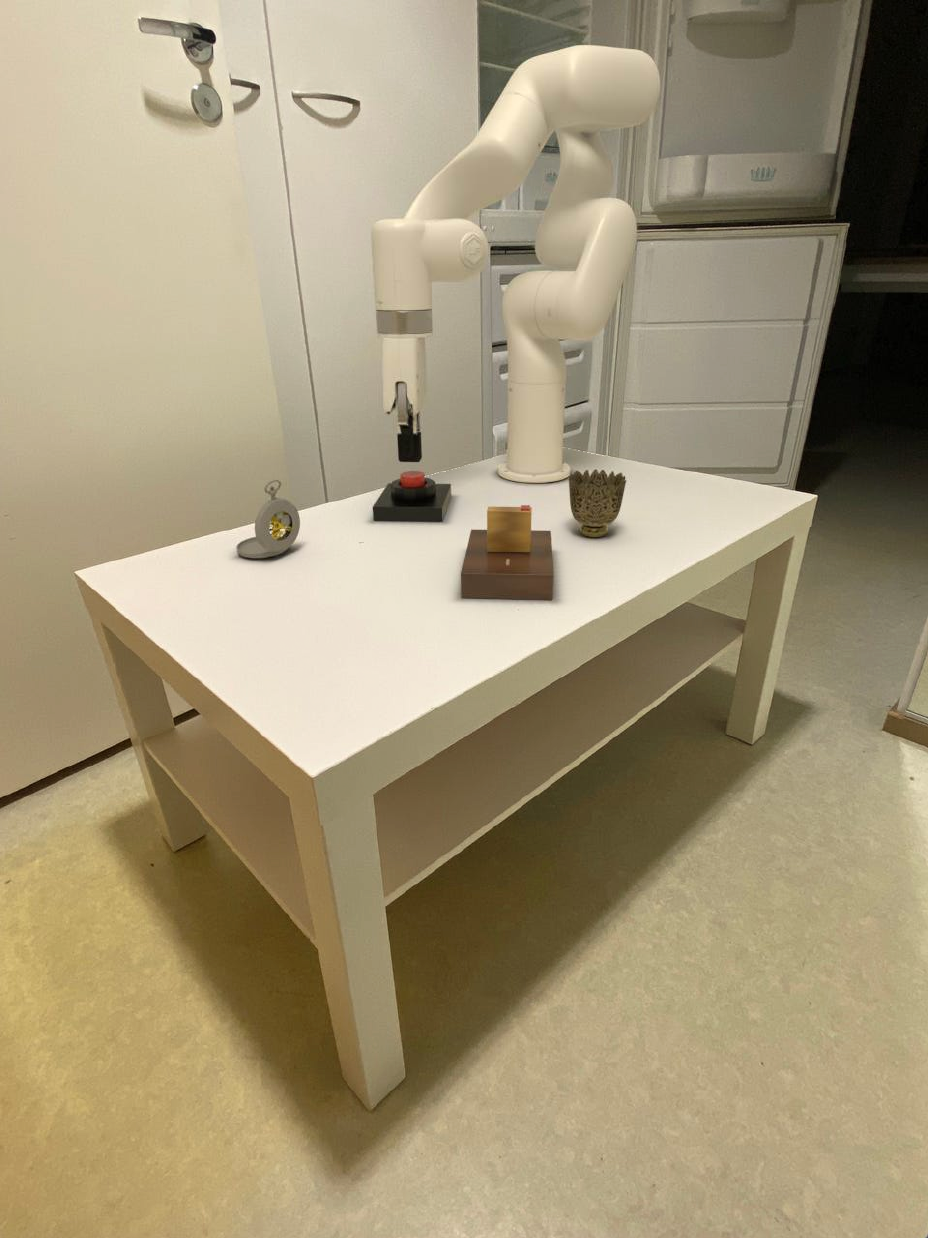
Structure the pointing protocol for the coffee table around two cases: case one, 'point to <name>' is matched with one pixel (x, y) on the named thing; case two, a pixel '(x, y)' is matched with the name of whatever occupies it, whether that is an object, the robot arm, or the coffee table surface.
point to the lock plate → (508, 570)
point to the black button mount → (412, 502)
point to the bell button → (412, 479)
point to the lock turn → (509, 529)
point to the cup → (595, 500)
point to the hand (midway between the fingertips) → (410, 460)
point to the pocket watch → (280, 517)
